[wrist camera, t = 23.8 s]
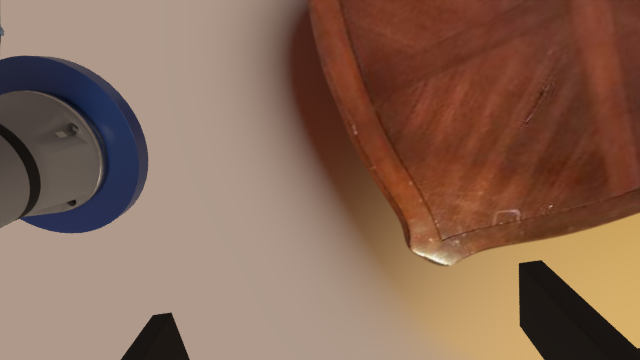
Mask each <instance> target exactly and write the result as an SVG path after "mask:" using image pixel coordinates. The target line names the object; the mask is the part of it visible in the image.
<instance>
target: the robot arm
mask: <svg viewBox="0 0 640 360" xmlns="http://www.w3.org/2000/svg"><path fill="white" fill-rule="evenodd" d="M1 35H2V36H3V35H4V30H3V29H2V27H1V26H0V42H1ZM108 168H109V159H108V152H107V148H106V144H105V142H104V139H103V137H102V135H101V133H100V131H99V129H98V128H97V126H96V125H95V123H94V122H93V121H92V120H91V118H90V117H89V116H88V115H87V114H86V113H85V112H84V111H83V110H82V109H80V108H79V107H78V106H77V105H75V104H74V103H72V102H71V101H69V100H68V99H66V98H64V97H62V96H59V95H57V94H54V93H51V92H47V91H41V90H24V91H13V92H8V93H5V94H2V95H0V228H1V227H3V226H5V225H7V224H9V223H11V222H13V221H15V220H17V219H19V218H22V217H26V216H34V215H42V214H50V213H58V212H64V211H68V210H72V209H74V208H77V207H79V206H80V205H82V204H84V203H86V202H88V201H90V200H91V199H92V198H94V197H95V196H96V195H97V194H98V193H99V192H100V190H101V189H102V187H103V186H104V183H105V181H106V178H107V175H108ZM519 300H520V301H519V305H520V327H521V328H522V329H523V331H524V332H525V334H526V335H527V336H528V338H529V339H530V341H531V342H532V343H533V345H534V346H535V347H536V349H537V350H538V351H539V353H540V354H541V356H542V357H543V358H544V360H640V348H638V349H637V348H636V347H635V346H634V345H633V344H631V343H630V342H629V341H628V340H627V339H626V338H625V337H624V336H623V335H622V334H621V333H620V332H618V331H617V330H616V329H615V328H614V327H613V326H612V325H611V324H610V323H608V321H607V320H606V319H604V318H603V317H602V316H601V315H600V314H599V313H598V312H597V311H596V310H595V309H594V308H592V307H591V306H590V305H589V304H588V303H587V302H586V301H585V300H584V299H583V298H582V297H581V296H579V295H578V294H577V293H576V292H575V291H574V290H573V289H572V288H571V287H570V286H569V285H567V284H566V283H565V282H564V281H563V280H562V279H561V278H560V277H559V276H558V275H557V274H556V273H555V272H553V271H552V270H551V269H550V268H549V267H548V266H547V265H546V264H545V263H544V262H543V261H541V260H540V261H532V262H526V263H519ZM121 360H190V359H189V357H188V354H187V352H186V349H185V346H184V344H183V341H182V339H181V336H180V334H179V331H178V329H177V326H176V323H175V321H174V318H173V316H172V313H166V314H158V315H153V316H152V317H151V319H150V320H149V322H148V323H147V324H146V326H145V327H144V328H143V330H142V331H141V333H140V334H139V335H138V337H137V338H136V339H135V341H134V342H133V344H132V345H131V346H130V348H129V349H128V350H127V352H126V353H125V355H124V356H123V357H122V359H121Z"/></svg>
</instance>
